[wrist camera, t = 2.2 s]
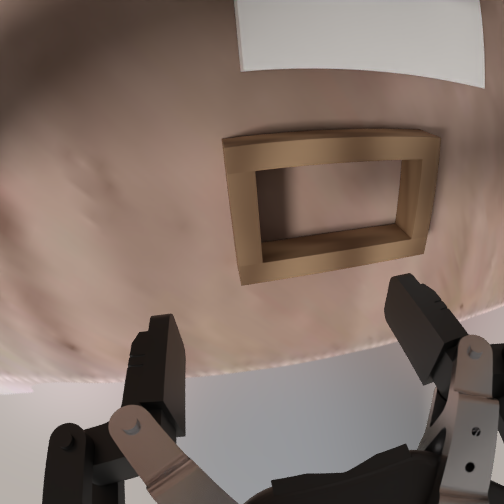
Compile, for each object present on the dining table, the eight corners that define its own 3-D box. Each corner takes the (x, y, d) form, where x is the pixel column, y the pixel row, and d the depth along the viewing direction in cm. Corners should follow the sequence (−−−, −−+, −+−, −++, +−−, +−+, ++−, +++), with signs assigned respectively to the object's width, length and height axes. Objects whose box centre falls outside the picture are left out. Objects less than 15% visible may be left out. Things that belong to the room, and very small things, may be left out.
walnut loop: (237, 264, 23) (241, 285, 21) (221, 139, 18) (224, 147, 16) (407, 237, 24) (423, 253, 22) (419, 129, 19) (441, 137, 17)
